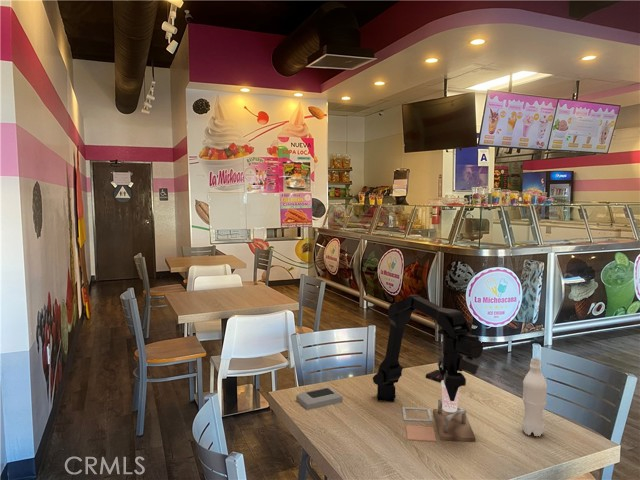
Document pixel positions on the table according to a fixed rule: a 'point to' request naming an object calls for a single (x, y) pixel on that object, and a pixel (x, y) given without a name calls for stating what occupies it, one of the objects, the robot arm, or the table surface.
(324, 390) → the keypad
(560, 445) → the table surface
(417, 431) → the end mat
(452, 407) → the beverage cup
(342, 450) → the table surface
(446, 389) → the robot arm
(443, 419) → the wire board
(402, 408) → the frame
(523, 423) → the water bottle
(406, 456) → the table surface
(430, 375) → the dark piece
